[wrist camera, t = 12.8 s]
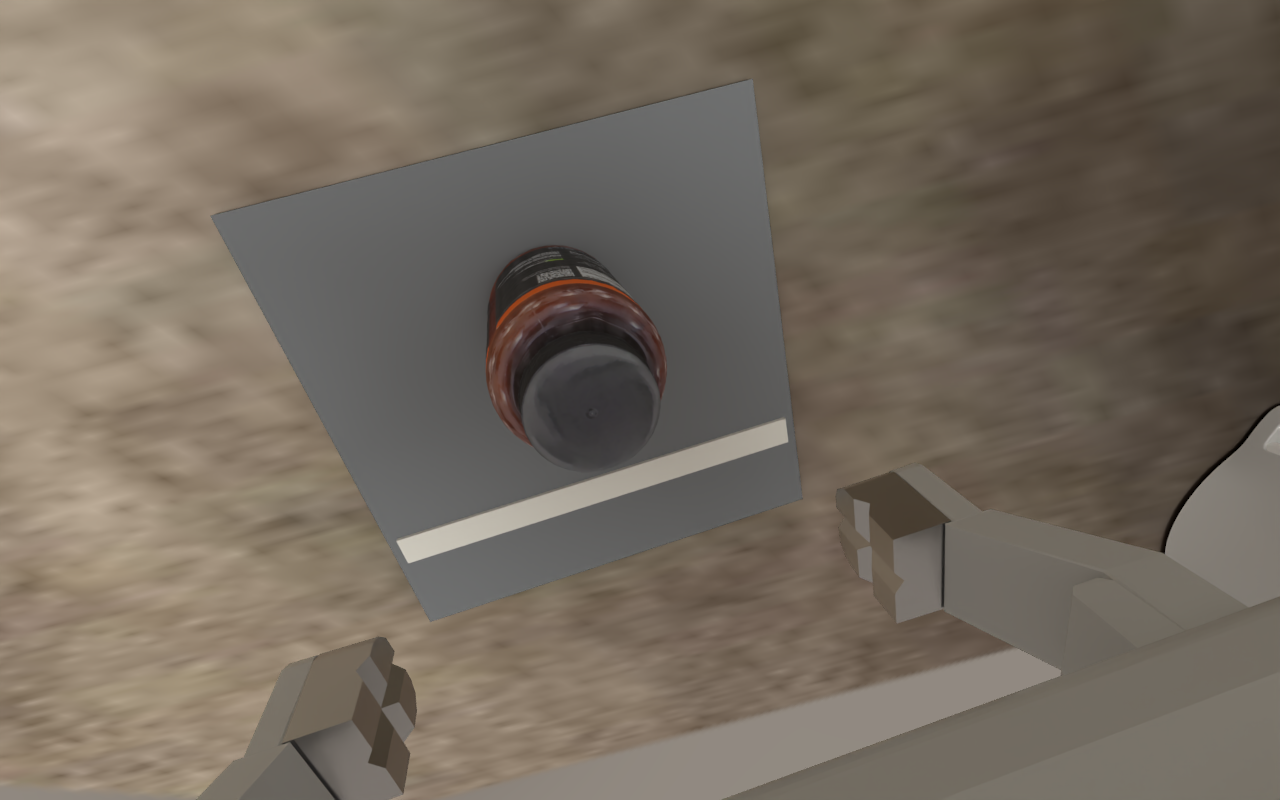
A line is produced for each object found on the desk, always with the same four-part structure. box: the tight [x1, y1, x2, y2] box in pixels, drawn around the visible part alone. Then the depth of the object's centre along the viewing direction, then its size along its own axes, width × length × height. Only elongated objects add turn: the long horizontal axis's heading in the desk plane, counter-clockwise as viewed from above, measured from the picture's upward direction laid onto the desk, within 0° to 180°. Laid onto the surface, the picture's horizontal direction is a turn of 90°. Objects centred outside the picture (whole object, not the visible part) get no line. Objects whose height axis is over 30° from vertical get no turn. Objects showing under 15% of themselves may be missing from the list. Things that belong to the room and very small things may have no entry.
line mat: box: [211, 79, 803, 622], centre depth 28 cm, size 22×22×1 cm
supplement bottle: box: [486, 245, 667, 472], centre depth 21 cm, size 6×6×11 cm
